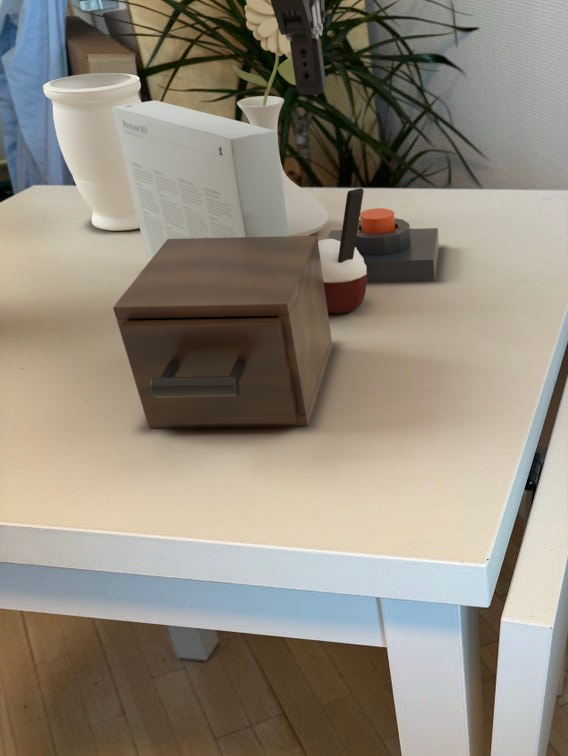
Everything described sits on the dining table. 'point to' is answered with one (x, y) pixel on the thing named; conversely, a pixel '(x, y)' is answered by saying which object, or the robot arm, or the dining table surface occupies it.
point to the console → (397, 253)
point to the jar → (96, 142)
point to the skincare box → (200, 175)
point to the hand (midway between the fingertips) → (312, 92)
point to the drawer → (211, 370)
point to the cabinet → (243, 298)
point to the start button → (377, 221)
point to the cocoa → (344, 262)
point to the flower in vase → (264, 112)
